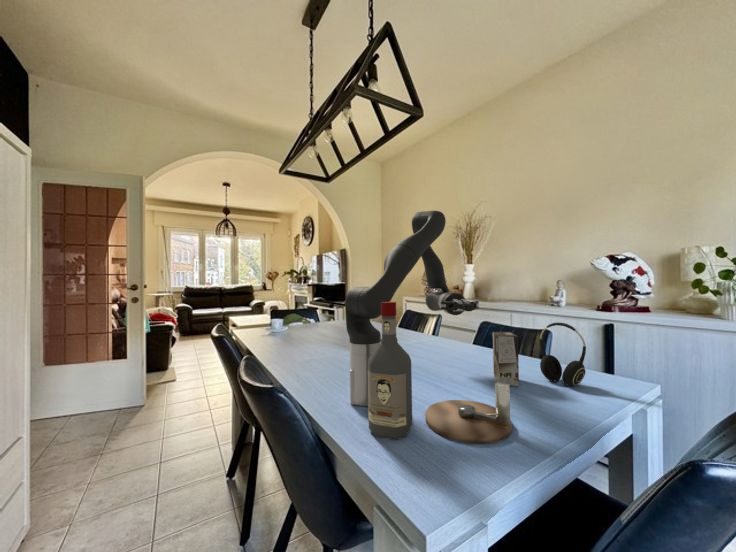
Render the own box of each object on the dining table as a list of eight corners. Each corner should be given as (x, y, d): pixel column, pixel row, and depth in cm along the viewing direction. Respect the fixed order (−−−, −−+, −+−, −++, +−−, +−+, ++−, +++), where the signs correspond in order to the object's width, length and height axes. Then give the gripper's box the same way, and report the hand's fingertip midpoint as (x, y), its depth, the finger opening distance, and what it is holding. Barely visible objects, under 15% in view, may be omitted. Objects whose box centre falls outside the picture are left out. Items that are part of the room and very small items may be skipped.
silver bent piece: (455, 415, 76) (454, 377, 76) (462, 409, 79) (461, 373, 79) (507, 429, 68) (506, 388, 68) (512, 422, 71) (511, 383, 71)
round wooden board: (437, 446, 65) (437, 437, 65) (417, 406, 85) (417, 400, 85) (529, 441, 66) (529, 433, 66) (488, 404, 86) (488, 397, 86)
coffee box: (519, 386, 100) (518, 336, 100) (498, 385, 101) (497, 335, 101) (512, 377, 109) (511, 331, 109) (493, 376, 110) (492, 331, 110)
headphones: (548, 375, 111) (546, 319, 111) (594, 387, 97) (592, 324, 98) (532, 379, 106) (531, 321, 107) (579, 392, 93) (577, 326, 94)
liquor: (379, 418, 79) (376, 300, 79) (414, 423, 76) (411, 301, 76) (365, 435, 70) (363, 303, 71) (404, 442, 67) (402, 304, 67)
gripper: (432, 292, 108) (447, 295, 90) (470, 292, 108) (491, 294, 91) (432, 314, 108) (447, 321, 90) (470, 313, 108) (492, 320, 91)
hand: (469, 307), depth 91 cm, fingers closed
